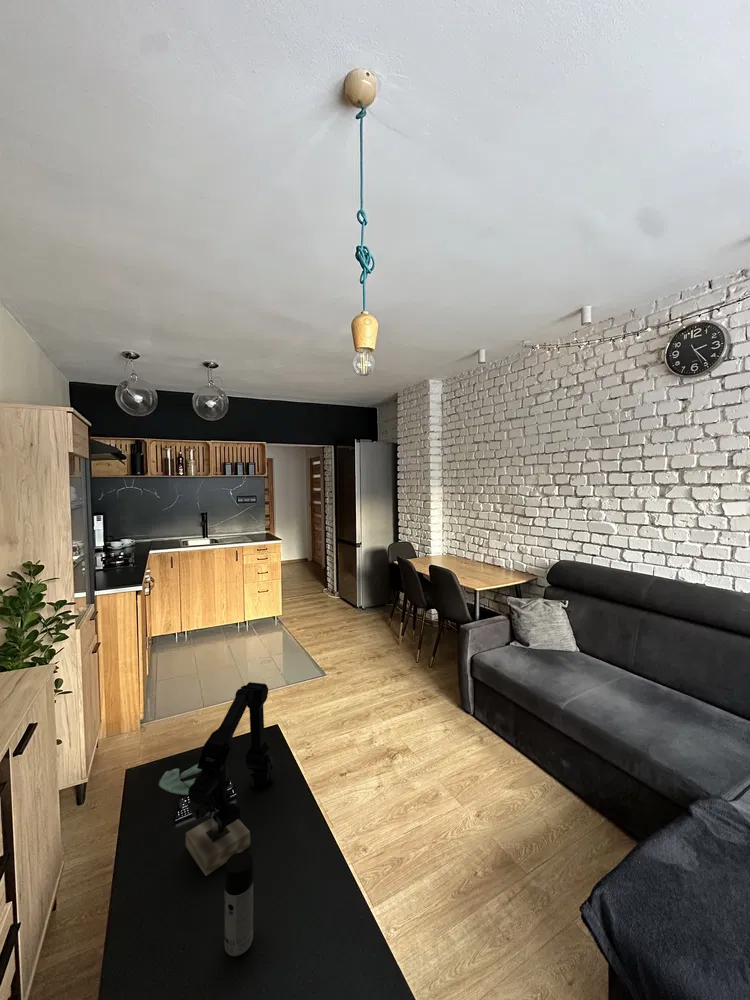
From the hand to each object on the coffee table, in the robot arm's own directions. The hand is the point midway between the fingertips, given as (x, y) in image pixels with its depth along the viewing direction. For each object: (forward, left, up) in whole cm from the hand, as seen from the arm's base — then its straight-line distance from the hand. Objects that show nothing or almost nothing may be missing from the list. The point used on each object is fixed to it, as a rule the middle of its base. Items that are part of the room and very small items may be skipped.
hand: (218, 829), depth 129 cm
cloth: (-6, -37, -6) cm, 38 cm away
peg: (0, 0, -2) cm, 2 cm away
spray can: (+9, +30, -6) cm, 32 cm away
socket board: (0, 0, -6) cm, 6 cm away
